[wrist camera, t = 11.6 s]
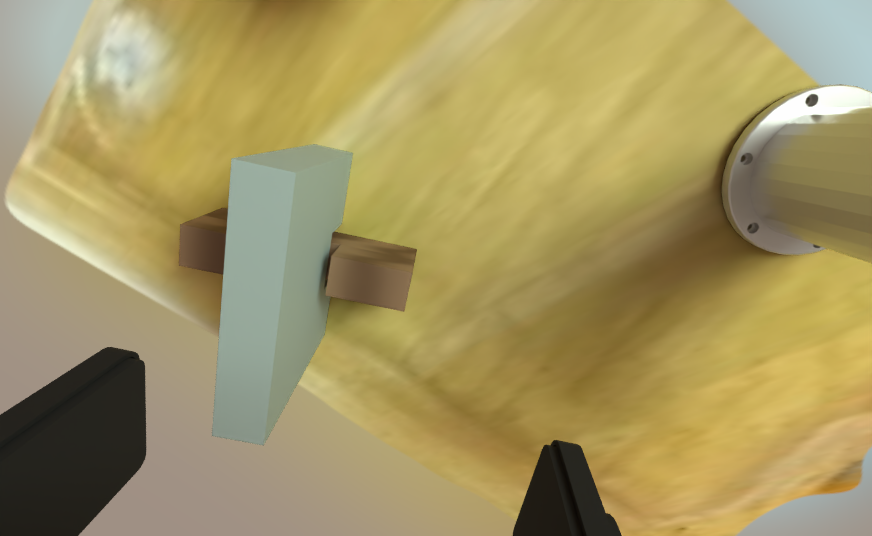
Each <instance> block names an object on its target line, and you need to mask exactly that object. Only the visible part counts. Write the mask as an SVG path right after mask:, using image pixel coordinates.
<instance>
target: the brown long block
mask: <svg viewBox="0 0 872 536" xmlns="http://www.w3.org/2000/svg"><path fill="white" fill-rule="evenodd" d="M227 217H228V209H226V208H221V209H218V210H216V211H213V212H211V213H208V214H206V215H203V216H200V217H198V218H195V219H193V220H190V221H188V222H185V223H183V224H180V253H179V266H184V267H189V268H194V269H199V270H204V271H209V272H213V273H218V274H223V273H224V259H225V245H226V231H227ZM416 251H417V249H413V248H408V247H404V246H399V245H394V244H390V243H385V242H380V241H375V240H371V239H366V238H361V237H357V236H352V235H347V234H343V233H338V232H333V233H332V239H331V245H330V252H329V258H328V265H327V272H326V278H325V279H328V282H327V289H326V296H331V297H335V298H340V299H345V300H350V301H355V302H360V303H365V304H370V305H375V306H379V307H384V308H389V309H394V310H399V311H404V310H405V305H406V300H407V296H408V291H409V286H410V282H411V277H412V272H413V267H414V262H415V257H416Z"/></svg>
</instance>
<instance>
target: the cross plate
mask: <svg viewBox="0 0 872 536" xmlns="http://www.w3.org/2000/svg"><path fill="white" fill-rule="evenodd" d="M352 156H353V153H351V152H346V151H342V150H337V149H333V148H329V147H324V146H320V145H315V144H313V145H307V146H301V147H296V148H290V149H284V150H278V151H272V152H267V153H261V154H255V155H249V156H243V157H238V158H232V161H231V175H230V189H229V203H228V217H227V231H226V245H225V259H224V273H223V287H222V301H221V315H220V329H219V344H218V358H217V373H216V386H215V400H214V414H213V428H212V436H215V437H221V438H226V439H232V440H237V441H242V442H248V443H254V444H259V445H264V444H265V442H266V440H267V438H268V437H269V435H270V433H271V431H272V429H273V428H274V426H275V424H276V422H277V420H278V418H279V417H280V415H281V413H282V411H283V409H284V408H285V406H286V404H287V402H288V400H289V398H290V397H291V395H292V393H293V391H294V389H295V388H296V386H297V384H298V382H299V380H300V378H301V377H302V375H303V373H304V371H305V369H306V367H307V366H308V364H309V362H310V360H311V358H312V357H313V355H314V353H315V351H316V349H317V347H318V346H319V344H320V342H321V340H322V338H323V336H324V334H325V328H326V322H327V315H328V309H329V302H330V296H326V289H327V282H328V279H325V278H326V272H327V265H328V258H329V252H330V245H331V239H332V233H333V232H334V231H335V230H336V229H337V228H338V227H339V226H340V225H341V224H342V219H343V213H344V207H345V200H346V194H347V187H348V181H349V175H350V168H351V162H352Z"/></svg>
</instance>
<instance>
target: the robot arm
mask: <svg viewBox="0 0 872 536" xmlns="http://www.w3.org/2000/svg"><path fill="white" fill-rule="evenodd" d="M741 157H742V158H741ZM722 198H723V206H724V209H725V212H726V215H727V218H728V220H729V221H730V223H731V225H732V226H733V228H734V229H735V231H736V232H737V233H738V234H739V235H740V236H741V237H742V238H743V239H745V240H746V241H748V242H750V243H751V244H753V245H754V246H756V247H759V248H762V249H764V250H767V251H769V252H773V253H778V254H782V255H803V254H809V253H815V252H818V251H821V250H824V249H829V250H832V251H835V252H838V253H842V254H845V255H848V256H851V257H854V258H857V259H860V260H863V261H866V262H869V263H872V92H870V91H868V90H865V89H862V88H860V87H856V86H849V85H842V84H839V85H824V86H817V87H811V88H806V89H803V90H800V91H797V92H795V93H792V94H789V95H787V96H785V97H784V98H782V99H780V100H778V101H776V102H775V103H773V104H772V105H770V106H769V107H768V108H766V109H765V110H764V111H763V112H761V113H760V114H759V115H758V116H757V117H756V118H755V119H754V120H753V121H752V122H751V123H750V124H749V125H748V126H747V127H746V128H745V130H744V131H743V133H742V134H741V136H740V137H739V139H738V140H737V141H736V143H735V145H734V147H733V149H732V151H731V153H730V155H729V157H728V160H727V163H726V167H725V170H724V174H723V182H722ZM145 405H146V404H145V365H144V362H143V361H142V360H140V359H139V355H138V354H137V353H136V352H133V351H127V350H123V349H118V348H113V347H107V348H105V349H102V350H101V351H100V352H98V353H96V354H95V355H93V356H91V357H90V358H88V359H87V360H85V361H84V362H82V363H81V364H79V365H78V366H76V367H74V368H73V369H71V370H70V371H68V372H66V373H65V374H63V375H62V376H60V377H59V378H57V379H56V380H54V381H52V382H51V383H49V384H48V385H46V386H45V387H43V388H42V389H40V390H38V391H37V392H36V393H34V394H32V395H31V396H29V397H28V398H26V399H25V400H23V401H21V402H20V403H18V404H16V405H15V406H13V407H12V408H10V409H9V410H7V411H6V412H4V413H3V414H1V415H0V536H78V535H79V534H80V533H81V532H82V531H83V530H84V529H85V528H86V526H87V525H88V524H89V523H90V522H91V521H92V520H93V519H94V518H95V517H96V516H97V514H98V513H99V512H100V511H101V510H102V509H103V508H104V507H105V506H106V505H107V504H108V503H109V501H110V500H111V499H112V498H113V497H114V496H115V495H116V494H117V493H118V492H119V491H120V490H121V488H122V487H123V486H124V485H125V484H126V483H127V482H128V481H129V480H130V479H131V477H133V475H134V474H135V473H136V472H137V471H138V470H139V468H140V467H141V465H142V464H143V461H144V460H145V456H146V408H145V407H146V406H145ZM513 536H621V533H620V530H619V528H618V525H617V523H616V521H615V519H614V518H613V517H612V516H611V515H610V514H607V513H605V510H604V507H603V505H602V502H601V499H600V497H599V494H598V491H597V488H596V486H595V483H594V480H593V478H592V475H591V472H590V469H589V467H588V464H587V461H586V459H585V456H584V453H583V450H582V448H581V446H579V445H577V444H573V443H568V442H563V441H558V440H554V441H553V442H552V444H551V446H550V445H544V447H543V449H542V451H541V454H540V457H539V460H538V463H537V465H536V468H535V471H534V474H533V477H532V479H531V482H530V485H529V488H528V491H527V493H526V496H525V499H524V502H523V505H522V507H521V510H520V513H519V516H518V519H517V521H516V524H515V527H514V531H513Z"/></svg>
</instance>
